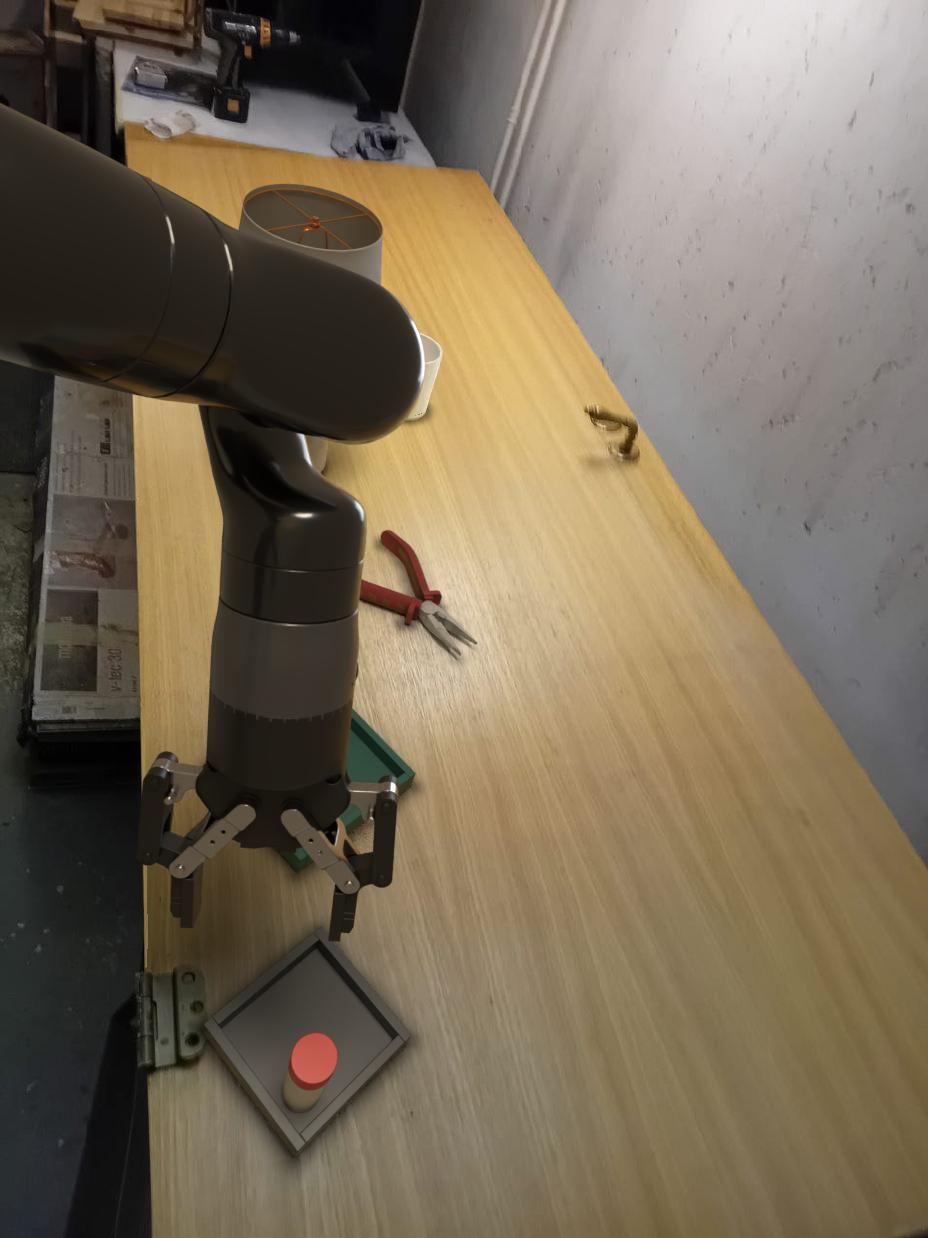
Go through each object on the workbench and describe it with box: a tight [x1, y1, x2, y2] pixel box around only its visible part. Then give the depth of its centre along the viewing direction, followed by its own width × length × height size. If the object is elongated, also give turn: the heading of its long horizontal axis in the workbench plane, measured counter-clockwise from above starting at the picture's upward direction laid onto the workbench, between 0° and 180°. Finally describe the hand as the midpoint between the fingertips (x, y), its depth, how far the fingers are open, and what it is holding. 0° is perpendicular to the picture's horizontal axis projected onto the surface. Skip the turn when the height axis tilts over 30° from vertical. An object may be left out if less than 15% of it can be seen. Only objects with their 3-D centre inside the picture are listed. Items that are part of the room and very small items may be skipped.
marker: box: [282, 1033, 338, 1113], centre depth 60 cm, size 3×3×10 cm
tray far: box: [278, 707, 417, 874], centre depth 81 cm, size 15×14×3 cm
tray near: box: [202, 926, 413, 1159], centre depth 65 cm, size 12×12×3 cm
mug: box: [404, 332, 444, 422], centre depth 123 cm, size 11×9×10 cm
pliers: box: [360, 529, 478, 657], centre depth 100 cm, size 12×20×3 cm, turn 46°
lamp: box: [237, 183, 384, 473], centre depth 100 cm, size 19×19×34 cm
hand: (264, 925), depth 49 cm, fingers open, 8 cm apart
